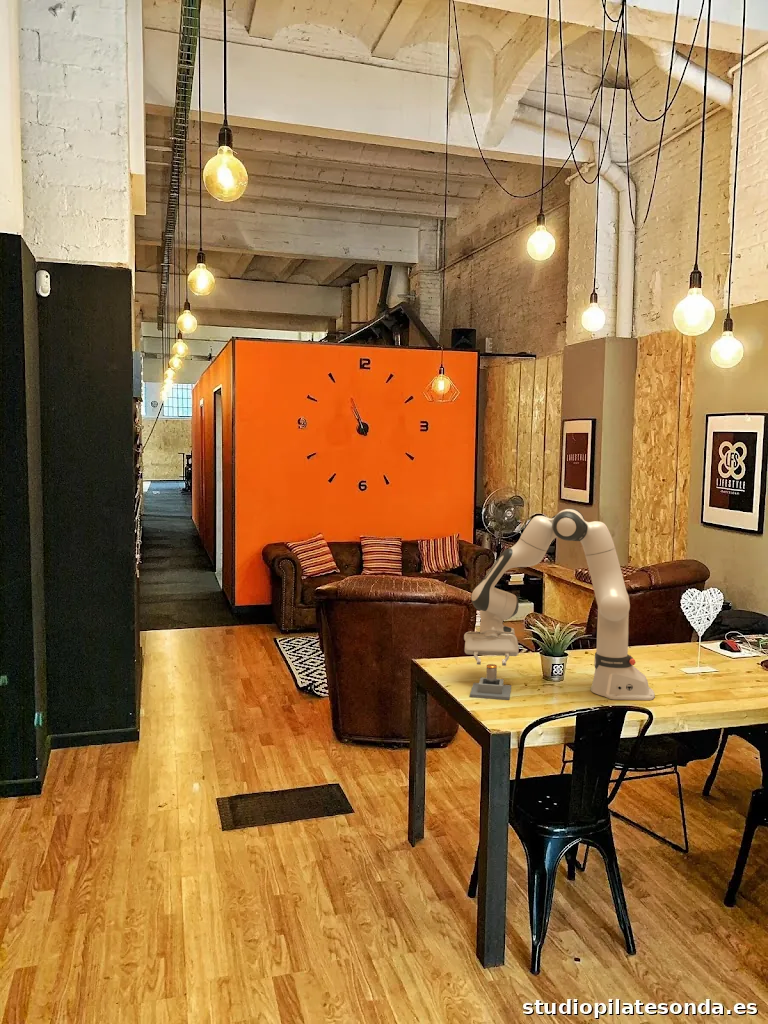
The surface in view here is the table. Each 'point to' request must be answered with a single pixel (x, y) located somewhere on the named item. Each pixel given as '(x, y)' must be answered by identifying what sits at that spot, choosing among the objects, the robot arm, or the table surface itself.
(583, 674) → the table surface
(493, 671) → the pivot pin
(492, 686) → the grey square socket base
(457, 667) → the table surface
